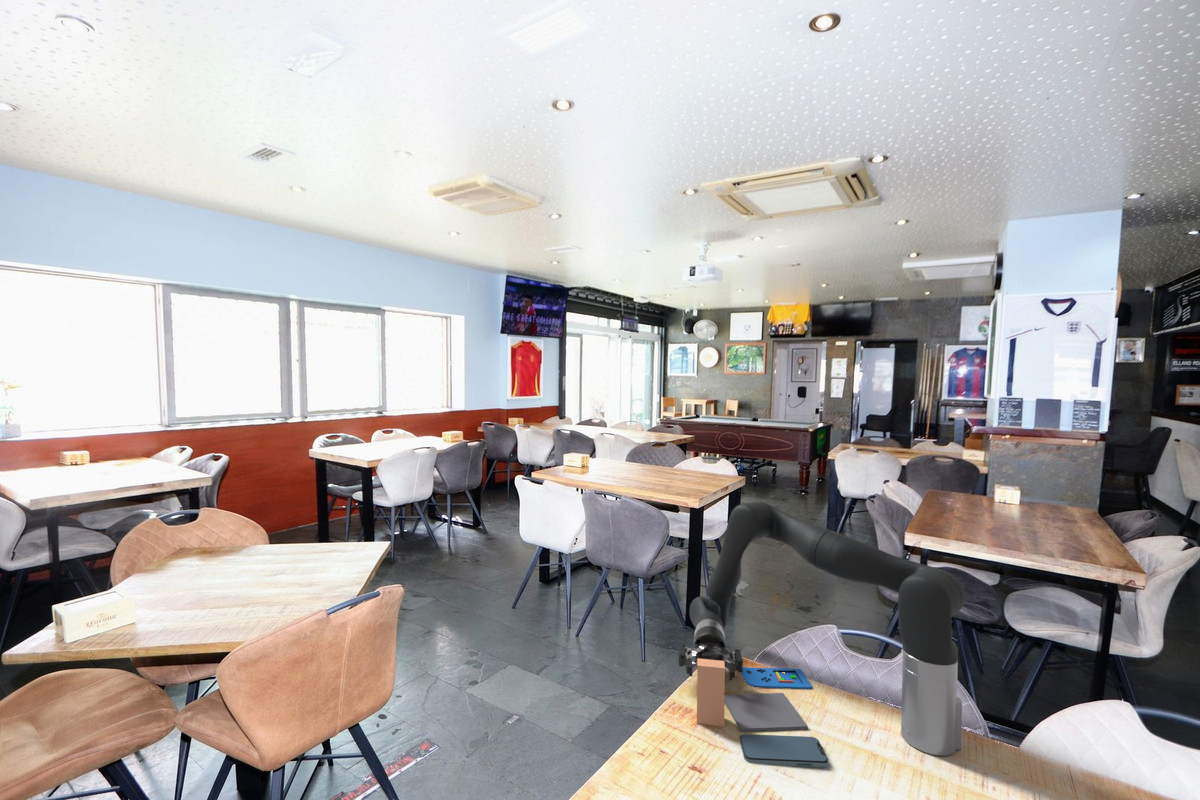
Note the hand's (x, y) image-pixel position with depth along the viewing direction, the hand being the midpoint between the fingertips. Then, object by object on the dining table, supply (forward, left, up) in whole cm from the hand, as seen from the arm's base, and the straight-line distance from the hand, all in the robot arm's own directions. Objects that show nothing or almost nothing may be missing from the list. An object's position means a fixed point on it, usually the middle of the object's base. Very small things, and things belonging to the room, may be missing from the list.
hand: (710, 674), depth 116 cm
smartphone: (-9, +15, -8) cm, 20 cm away
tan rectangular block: (+1, +5, -7) cm, 9 cm away
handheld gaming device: (-19, -10, -8) cm, 22 cm away
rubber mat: (-11, +3, -7) cm, 13 cm away
